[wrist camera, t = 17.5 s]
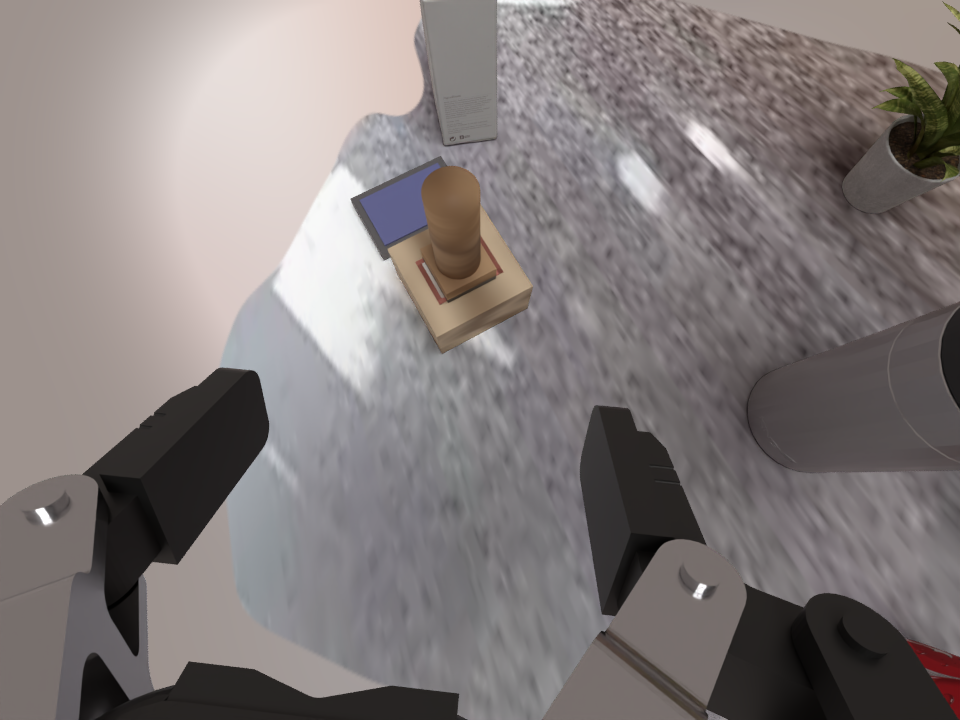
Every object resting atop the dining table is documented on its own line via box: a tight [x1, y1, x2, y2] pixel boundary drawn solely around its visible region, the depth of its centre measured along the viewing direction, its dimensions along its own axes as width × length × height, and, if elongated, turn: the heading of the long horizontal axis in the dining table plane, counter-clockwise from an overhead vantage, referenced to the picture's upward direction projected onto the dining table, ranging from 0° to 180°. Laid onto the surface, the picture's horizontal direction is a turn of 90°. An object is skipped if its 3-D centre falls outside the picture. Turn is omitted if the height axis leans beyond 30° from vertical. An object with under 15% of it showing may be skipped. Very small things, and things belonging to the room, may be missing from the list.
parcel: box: [388, 204, 533, 354], centre depth 40 cm, size 9×9×5 cm
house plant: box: [842, 2, 960, 214], centre depth 37 cm, size 14×14×16 cm
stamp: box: [420, 166, 497, 303], centre depth 32 cm, size 4×4×10 cm
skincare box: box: [420, 0, 497, 145], centre depth 41 cm, size 8×6×15 cm
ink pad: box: [351, 156, 447, 260], centre depth 44 cm, size 10×7×1 cm
